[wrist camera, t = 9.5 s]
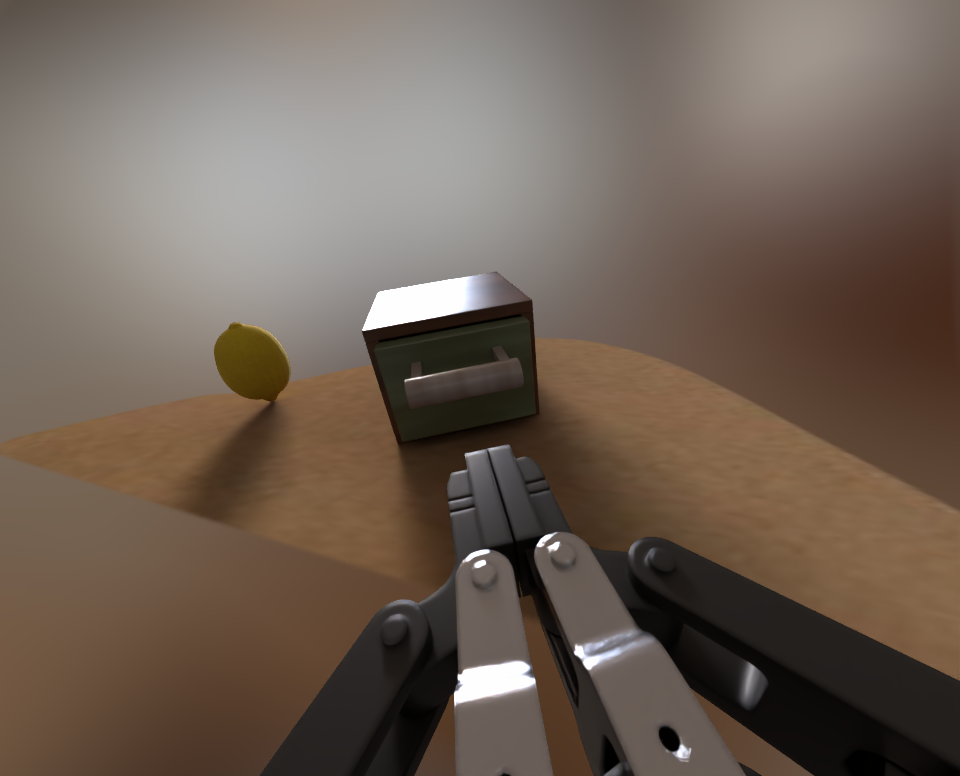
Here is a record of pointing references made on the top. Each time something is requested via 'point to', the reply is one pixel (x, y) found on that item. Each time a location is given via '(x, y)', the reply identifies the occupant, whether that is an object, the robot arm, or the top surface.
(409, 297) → the cabinet
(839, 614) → the top surface
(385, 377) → the drawer
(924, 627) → the top surface
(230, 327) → the lemon
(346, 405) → the top surface
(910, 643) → the top surface
